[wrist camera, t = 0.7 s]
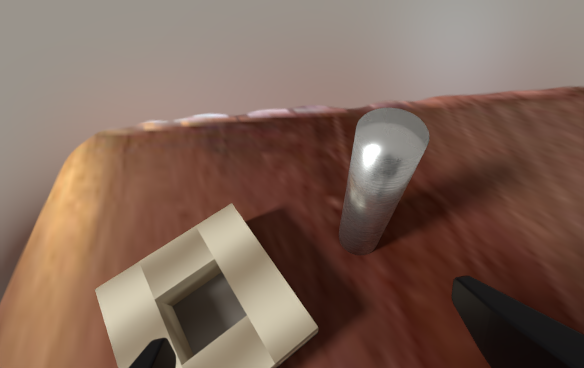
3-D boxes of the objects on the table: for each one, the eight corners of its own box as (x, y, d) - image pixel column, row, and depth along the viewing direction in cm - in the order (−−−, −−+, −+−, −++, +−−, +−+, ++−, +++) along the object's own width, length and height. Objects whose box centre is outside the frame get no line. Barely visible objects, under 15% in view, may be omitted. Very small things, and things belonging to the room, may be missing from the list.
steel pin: (386, 239, 26) (444, 135, 14) (357, 263, 25) (393, 173, 13) (359, 212, 27) (390, 98, 16) (330, 233, 26) (341, 129, 15)
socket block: (318, 332, 22) (318, 327, 19) (179, 451, 19) (148, 470, 16) (242, 222, 28) (231, 203, 24) (125, 299, 25) (95, 289, 21)
